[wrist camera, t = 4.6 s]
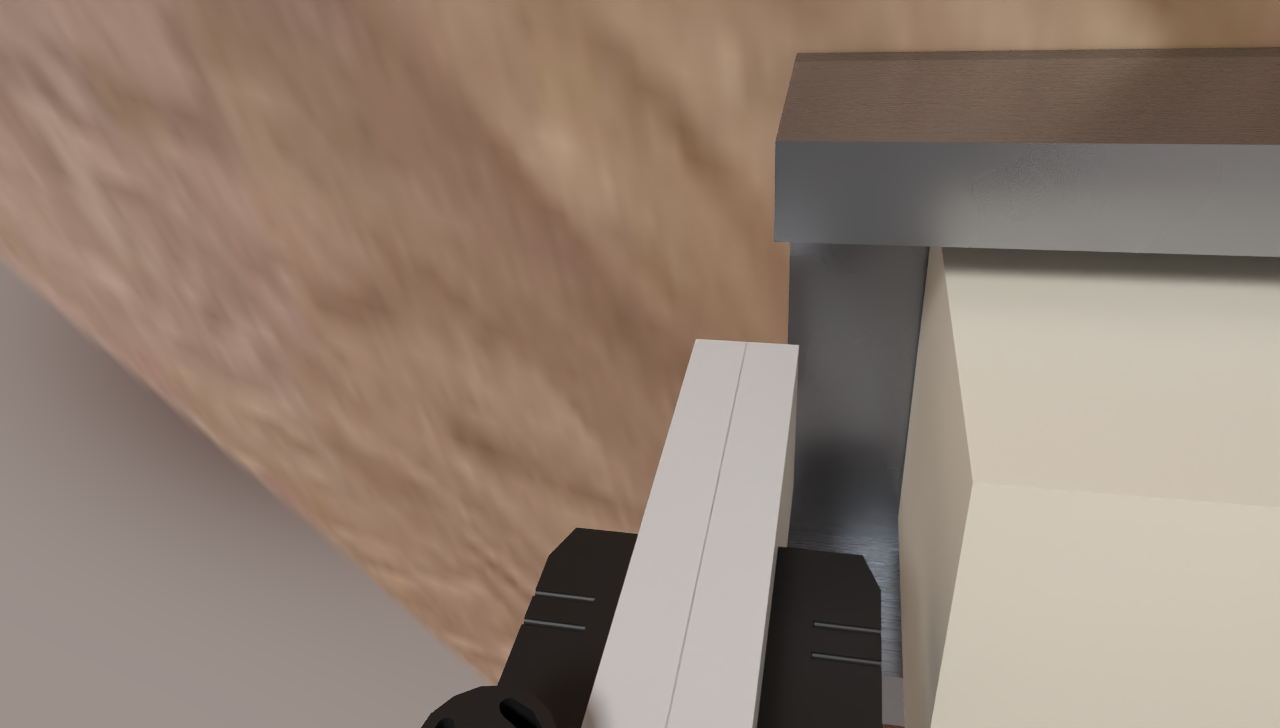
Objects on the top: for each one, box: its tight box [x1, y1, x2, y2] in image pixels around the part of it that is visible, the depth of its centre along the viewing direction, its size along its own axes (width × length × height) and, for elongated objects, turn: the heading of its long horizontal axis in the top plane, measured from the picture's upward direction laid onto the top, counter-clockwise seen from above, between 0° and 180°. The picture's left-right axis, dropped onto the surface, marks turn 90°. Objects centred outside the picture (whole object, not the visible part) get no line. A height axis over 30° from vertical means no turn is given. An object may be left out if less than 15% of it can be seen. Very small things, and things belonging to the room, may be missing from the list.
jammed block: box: [898, 247, 1280, 728], centre depth 11 cm, size 6×8×6 cm
